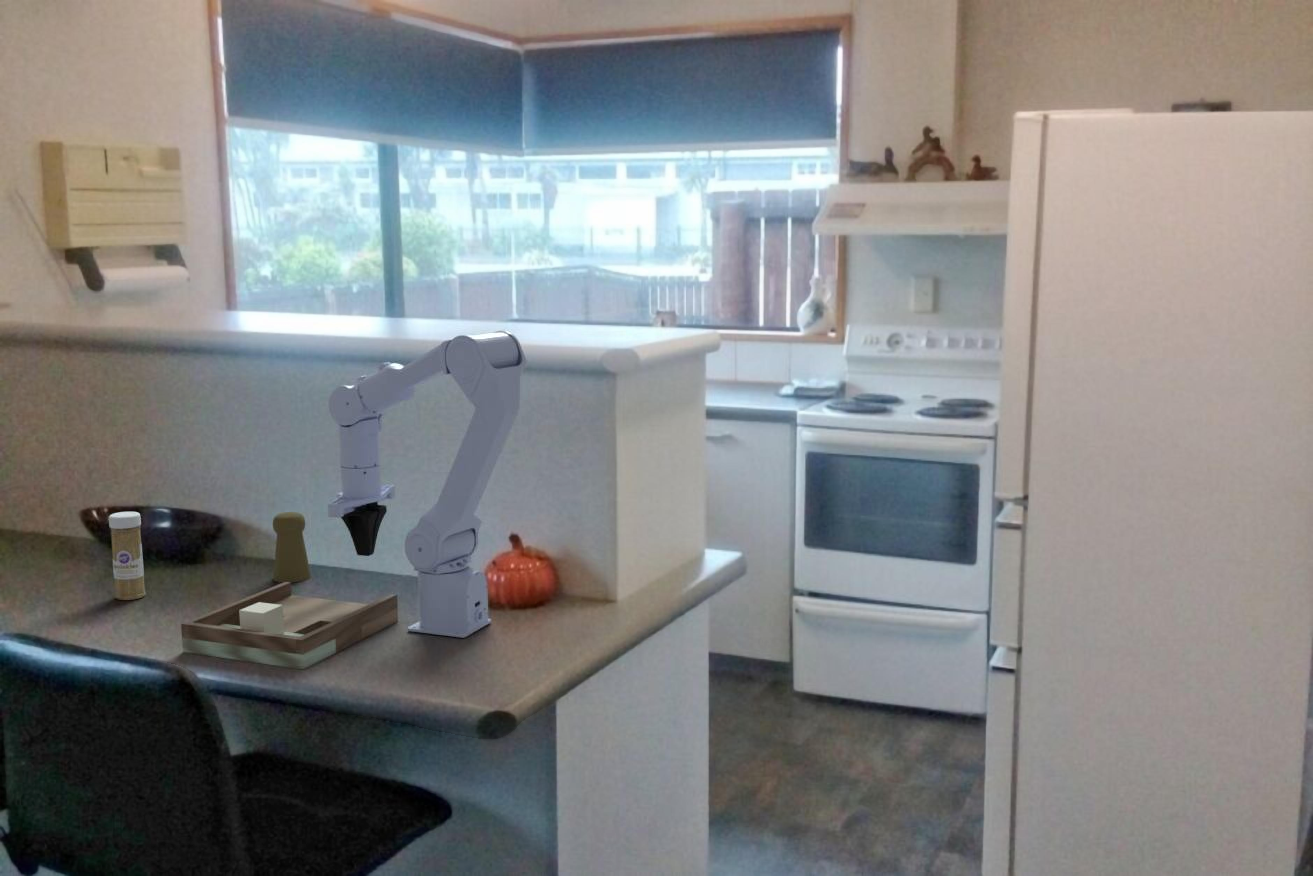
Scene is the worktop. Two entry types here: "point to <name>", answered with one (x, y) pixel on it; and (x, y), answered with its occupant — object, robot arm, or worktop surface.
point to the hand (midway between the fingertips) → (365, 554)
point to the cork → (290, 548)
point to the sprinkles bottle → (127, 555)
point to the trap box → (288, 628)
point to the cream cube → (262, 618)
